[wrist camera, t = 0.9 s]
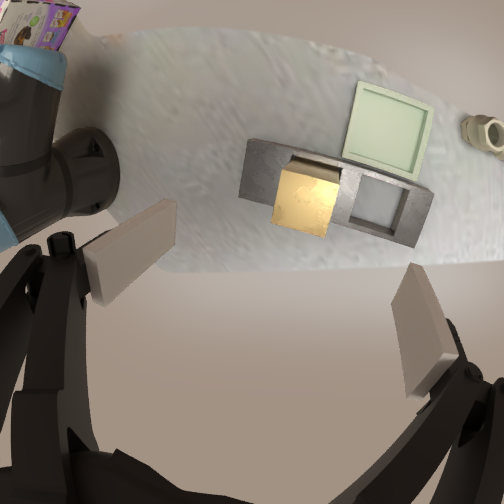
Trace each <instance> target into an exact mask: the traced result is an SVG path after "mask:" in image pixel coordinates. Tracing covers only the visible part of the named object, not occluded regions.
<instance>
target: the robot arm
mask: <svg viewBox="0 0 504 504" xmlns="http://www.w3.org/2000/svg"><path fill="white" fill-rule="evenodd" d="M66 68H67V59H66V56H65V55H64V54H63V53H61V52H58V51H54V50H49V49H44V48H38V47H31V46H23V45H11V44H0V253H1V252H3V251H5V250H7V249H8V248H11V247H12V246H17V245H18V244H19V243H21V242H22V241H24V240H26V239H27V238H29V237H31V236H32V235H34V234H36V233H38V232H39V231H41V230H43V229H45V228H46V227H48V226H50V225H52V224H54V223H55V222H57V221H59V220H61V219H63V218H65V217H72V216H88V215H93V214H96V213H98V212H100V211H102V210H104V209H106V208H107V207H108V206H109V205H110V204H111V203H112V202H113V200H114V198H115V196H116V194H117V190H118V186H119V163H118V158H117V155H116V152H115V149H114V147H113V145H112V143H111V141H110V140H109V138H108V137H107V136H106V135H105V134H104V133H103V132H102V131H100V130H99V129H96V128H93V127H85V128H79V129H75V130H73V131H71V132H69V133H68V134H66V135H65V136H63V137H62V138H60V139H59V140H57V141H56V142H54V143H53V144H52V142H53V135H54V128H55V122H56V116H57V111H58V106H59V101H60V96H61V92H62V91H63V89H64V87H63V82H64V77H65V73H66ZM176 204H177V201H172V200H168V199H164V200H162V201H161V202H159V203H157V204H155V205H153V206H152V207H150V208H148V209H146V210H144V211H143V212H141V213H139V214H137V215H136V216H134V217H132V218H131V219H129V220H127V221H125V222H124V223H122V224H120V225H119V226H117V227H115V228H114V229H111V230H108V231H105V232H104V233H102V234H100V235H99V236H98V237H95V238H94V239H93V240H90V241H89V242H87V243H86V244H84V245H82V246H81V247H79V248H78V249H76V247H75V240H74V234H73V233H71V232H68V231H62V232H57V233H54V234H52V235H51V236H49V237H48V238H47V245H48V250H49V254H50V256H46V255H42V250H41V246H39V245H36V244H33V245H32V244H30V245H26V246H25V247H23V248H22V249H21V250H19V251H18V253H17V254H16V255H15V256H14V257H13V259H12V260H11V261H10V262H9V264H8V265H7V266H6V267H5V269H4V270H3V271H2V273H1V274H0V433H1V430H2V427H3V424H4V420H5V417H6V413H7V410H8V406H9V402H10V399H11V396H12V393H13V390H14V387H15V384H16V381H17V378H18V375H19V373H20V370H21V367H22V364H23V361H24V359H25V356H26V354H27V357H26V365H25V373H24V382H23V389H22V390H21V391H15V392H14V394H13V398H12V408H11V459H12V466H10V467H2V468H0V504H253V503H249V502H245V501H241V500H238V499H234V498H230V497H227V496H222V495H212V494H203V493H197V492H190V491H184V490H181V489H179V488H178V487H176V486H175V485H173V484H172V483H171V482H169V481H168V480H166V479H165V478H164V477H163V476H161V475H160V474H159V473H157V472H156V471H155V470H153V469H152V468H151V467H150V466H148V465H146V464H144V463H142V462H140V461H138V460H137V459H135V458H133V457H131V456H129V455H127V454H125V453H124V452H122V451H120V450H118V449H116V450H115V451H114V453H113V454H112V453H107V452H101V451H99V448H98V445H97V442H96V440H95V437H94V434H93V431H92V424H91V417H90V409H89V398H88V386H87V372H86V371H87V370H86V307H87V301H86V297H85V296H86V295H87V294H88V293H89V292H90V291H91V296H92V300H93V302H94V303H96V304H98V305H100V306H102V307H106V306H107V305H108V304H109V303H111V302H112V301H113V300H114V299H115V298H116V297H117V296H118V295H119V294H120V293H121V292H122V291H123V290H125V288H127V287H128V286H129V285H130V284H131V283H132V282H133V281H134V280H135V279H137V278H138V277H139V276H140V275H141V274H142V273H143V272H144V271H145V270H147V269H148V268H149V267H150V266H151V265H152V264H153V263H154V262H156V261H157V260H158V259H159V258H160V257H161V256H162V255H164V254H165V253H166V252H167V251H168V250H169V249H171V248H172V247H173V246H174V245H175V228H176ZM26 286H27V290H28V292H27V293H25V287H26ZM391 305H392V311H393V315H394V320H395V325H396V331H397V336H398V342H399V348H400V353H401V360H402V367H403V374H404V382H405V391H406V399H412V400H422V399H423V398H424V397H425V396H426V395H427V394H428V392H429V393H430V400H429V401H428V402H427V403H426V405H424V407H423V408H422V409H421V410H419V411H418V412H417V416H416V417H415V419H414V420H413V422H412V423H411V424H410V425H409V426H408V427H407V429H406V430H405V431H404V432H403V433H402V434H401V435H400V437H399V438H398V439H397V440H396V441H395V443H394V444H392V446H391V447H390V448H389V449H388V450H387V451H386V452H385V453H384V454H383V455H382V456H381V457H380V458H379V459H378V460H377V461H376V462H375V463H374V464H373V466H371V467H370V468H369V469H368V470H367V471H366V472H365V473H364V474H363V475H362V476H361V477H360V478H358V479H357V480H356V481H355V482H354V483H353V484H352V485H351V486H350V487H348V488H347V489H346V490H345V491H344V492H342V493H341V494H340V495H339V496H337V497H336V498H335V499H334V500H332V501H331V502H330V503H329V504H411V502H412V501H413V500H414V499H415V498H416V496H417V495H418V494H419V493H420V491H421V490H422V489H423V487H424V486H425V485H426V483H427V482H428V481H429V479H430V478H431V476H432V475H433V473H434V472H435V471H436V469H437V468H438V466H439V465H440V463H441V462H442V460H443V459H444V457H445V455H446V454H447V452H448V450H449V449H450V447H451V446H452V447H451V450H450V453H449V456H448V459H447V462H446V465H445V468H444V471H443V473H442V476H441V479H440V481H439V483H438V486H437V488H436V491H435V493H434V495H433V498H432V500H431V502H430V504H501V501H502V498H503V494H504V378H503V377H502V378H498V379H497V380H496V382H495V383H494V384H493V385H492V384H490V383H488V382H486V381H484V380H483V375H482V372H481V371H480V369H479V368H478V367H477V366H476V365H475V364H473V363H471V362H468V361H467V357H466V355H465V352H464V349H463V347H462V344H461V342H460V339H459V337H458V333H457V331H456V328H455V326H454V325H453V324H452V322H451V321H450V320H449V319H447V318H445V316H444V313H443V311H442V309H441V306H440V304H439V302H438V299H437V297H436V295H435V292H434V290H433V288H432V286H431V284H430V282H429V279H428V277H427V275H426V273H425V271H424V269H423V267H422V266H420V265H417V264H414V263H411V262H410V264H409V266H408V269H407V271H406V273H405V275H404V278H403V280H402V282H401V284H400V286H399V288H398V291H397V293H396V295H395V297H394V299H393V301H392V303H391Z"/></svg>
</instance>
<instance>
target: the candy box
mask: <svg viewBox="0 0 504 504" xmlns="http://www.w3.org/2000/svg"><path fill="white" fill-rule="evenodd" d="M80 9H81V8H80V7H79V6H76V5H75V4H73V3H71V2H66V1H59V0H2V1H1V3H0V44H11V45H23V46H31V47H38V48H44V49H49V50H54V51H58V49H59V47H60V45H61V43H62V41H63V39H64V37H65V35H66V33H67V31H68V30H69V28H70V26H71V24H72V22H73V20H74V19H75V17H76V15H77V14H78V12H79V10H80Z"/></svg>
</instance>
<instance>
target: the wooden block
mask: <svg viewBox="0 0 504 504" xmlns="http://www.w3.org/2000/svg"><path fill="white" fill-rule="evenodd" d="M339 185H340V182H339V168H338V167H336V166H333V165H329V164H325V163H322V162H318V161H314V160H310V159H306V158H302V157H298V156H297V157H296V158H294V159H293V160H292V161H291V162H290V163H289V164H288V165H286V166H285V167H284V168H283V169H282V172H281V176H280V181H279V186H278V191H277V196H276V200H275V205H274V210H273V215H272V219H271V223H274V224H277V225H281V226H285V227H288V228H292V229H295V230H299V231H302V232H306V233H309V234H313V235H316V236H320V237H323V238H325V234H326V231H327V228H328V224H329V221H330V218H331V214H332V211H333V207H334V204H335V200H336V196H337V193H338V189H339Z"/></svg>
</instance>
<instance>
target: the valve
mask: <svg viewBox="0 0 504 504" xmlns="http://www.w3.org/2000/svg"><path fill="white" fill-rule="evenodd" d="M461 131H462V139H463V140H465V141H466V142H468V143H469V144H471V145H472V146H473V147H476V148H477V149H479V150H481V151H492V152H493V155H494V156H495V157H497V158H498V159H499V160H504V124H503V123H502V122H501V121H499V120H498V119H497V118H495V117H488V116H485V115H476V116H470V117H468V118H467V119H466V120H464V121H463V122H462V123H461Z"/></svg>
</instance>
